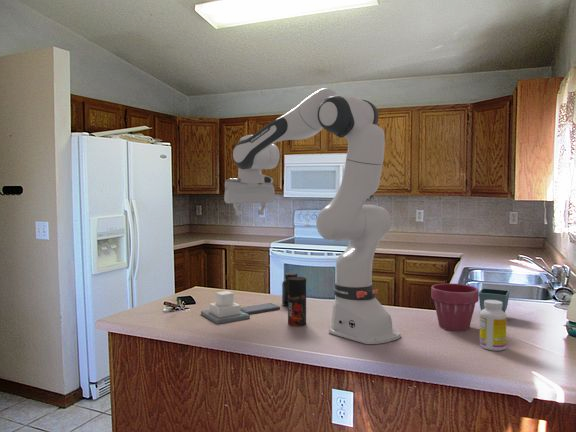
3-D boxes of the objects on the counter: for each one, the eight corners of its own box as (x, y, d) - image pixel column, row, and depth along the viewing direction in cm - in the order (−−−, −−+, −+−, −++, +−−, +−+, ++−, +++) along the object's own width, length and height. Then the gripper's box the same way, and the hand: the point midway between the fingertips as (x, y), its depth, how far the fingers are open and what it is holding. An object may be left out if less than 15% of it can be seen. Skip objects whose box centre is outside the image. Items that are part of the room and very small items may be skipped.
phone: (270, 305, 173) (270, 302, 173) (280, 309, 167) (280, 306, 167) (237, 310, 165) (237, 307, 165) (246, 314, 160) (246, 312, 159)
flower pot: (481, 312, 163) (482, 287, 162) (509, 316, 158) (509, 290, 158) (477, 318, 155) (478, 292, 154) (506, 322, 150) (507, 295, 150)
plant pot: (421, 323, 150) (422, 284, 149) (456, 319, 154) (457, 281, 154) (450, 336, 136) (451, 293, 135) (488, 331, 141) (489, 290, 140)
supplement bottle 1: (298, 307, 170) (298, 275, 169) (280, 306, 171) (280, 274, 170) (301, 303, 176) (301, 272, 176) (284, 302, 178) (284, 271, 177)
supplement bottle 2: (509, 347, 127) (510, 301, 126) (501, 353, 122) (502, 305, 121) (484, 341, 131) (485, 297, 130) (475, 347, 126) (476, 301, 125)
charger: (233, 313, 157) (233, 293, 157) (221, 315, 155) (221, 294, 154) (227, 310, 161) (227, 290, 161) (216, 312, 159) (215, 292, 158)
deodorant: (309, 322, 150) (309, 277, 149) (300, 327, 145) (300, 280, 144) (293, 320, 153) (293, 276, 152) (284, 324, 148) (284, 279, 147)
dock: (249, 318, 155) (249, 306, 155) (217, 324, 149) (217, 311, 148) (231, 309, 167) (231, 298, 167) (200, 314, 160) (200, 302, 160)
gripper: (228, 178, 165) (228, 216, 165) (276, 178, 176) (276, 214, 177) (221, 178, 170) (221, 215, 171) (268, 179, 181) (268, 214, 182)
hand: (250, 215), depth 174 cm, fingers open, 8 cm apart
